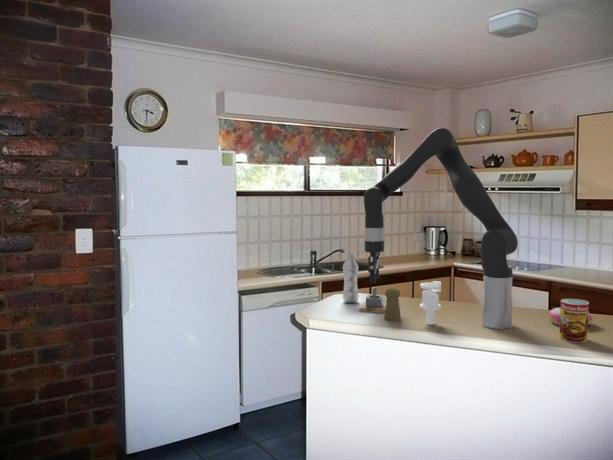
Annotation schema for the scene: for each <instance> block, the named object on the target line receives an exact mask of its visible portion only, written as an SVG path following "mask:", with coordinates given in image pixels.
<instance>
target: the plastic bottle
mask: <svg viewBox="0 0 613 460" xmlns="http://www.w3.org/2000/svg"><path fill="white" fill-rule="evenodd" d="M342 272H343V280H344V281H343V291H342V299H343V302H344V303H348V304H353V303H357V302H358V301H359V296H360V295H359V290H358V276H359V275H358V273H359V265H358V263H357V261H356V253H346V254H345V262H344V263H343V265H342Z"/></svg>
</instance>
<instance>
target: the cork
mask: <svg viewBox="0 0 613 460" xmlns="http://www.w3.org/2000/svg"><path fill="white" fill-rule="evenodd" d="M384 293H385V297H386V308H385V313H384V316H383V319H384V320H385V321H388V322H399V321H402V317H401V315H402V314H401V308H400V302H399V298H400V297H401V292H400V290H399V289H397V288H393V287H392V288H388V289H386V290H385V292H384Z"/></svg>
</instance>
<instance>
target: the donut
mask: <svg viewBox="0 0 613 460" xmlns="http://www.w3.org/2000/svg"><path fill="white" fill-rule="evenodd" d="M548 319H549V321H551V323H553V324H554V325H556V326H559V327H560V307H554V308H552V309H551V310H550V311H549V313H548ZM592 322H593V315H592V314H591V313H590V312H589V314H588V326H589V325H590V324H591V323H592Z"/></svg>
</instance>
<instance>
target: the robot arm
mask: <svg viewBox="0 0 613 460" xmlns="http://www.w3.org/2000/svg"><path fill="white" fill-rule="evenodd" d="M434 156H435V157H436V159H438V160H439V161H440V163H441V164H442V166H443V168H444V169H445V170H446V172H447V174H448V177H449V180H450V182H451V185H452V188H453V190H454V192H455V194H456V195H457V197H458V199H459V201H460V202H461V204H462V205H463V207H465V209H466V210H467V211H468V212H469V213H470V214H472V215H473V216H474V217H475V218H476V219H477V220H479V222H481V224H482V225H483V226H484V228H485V230H486V232H484V234H483V235H482V237H481V242H480V264H481V268H482V271H483V281H482V283H483V285H482V288H483V289H482V290H483V291H482V317H481V319H482V320H481V322H482V326H483V327H486V328H490V329H495V330H496V329H498V330H501V329H502V330H505V329H512V325H513V323H512V322H513V299H512V298H513V268H512V267H511V266H509V265H508V263H507V262H508V261H507V256H508V255H512V254H513V253H515V252H516V250H517V249H518V243H519V242H518V241H519V240H518V236H517V235H516V233H515V231H514V230H513V228H511V226H510V225H509V224H508V222H507V221H506V220H505V219H504V217H503V216H502V215H501V213H500V212H499V210H498V208H497V206H496V205H495V203H494V202H493V200H492V199H491V197H490V195H489V193H488V192H487V190H486V187H485V186H484V185H483V183H482V181H481V180H480V178H479V177H478V176H477V174H476V173H475V171H474V170H473V169H472V168H471V166H470V165H469V164H468V163H467V162H466V160H465V159H464V156H463V155H462V152H461V151H460V149H459V145H458V144H457V141H456V139H455V137H454V135H453V133H452V132H451V131H450V130H449V129H448V128H445V127H438V128H436V129H434V130H432V131H431V132H430V133H429V134H428V135H427V136H426V137H425V138H424V139H423V140H422V142H421V143H420V144H419V145H418V146H417V147H416V148H415V149H414V150H413V151H412V152H411V153H410V154H409V155H408V156H407V157H406V158H405V159H404V160H402V162H400V163H399V164H398V165H396V166H395V167H394V168H393V169H391V171H389V172H388V173H387V174H386V175H385V176H384V177H382V179H381V180H380V181H378V182H377V183H376V184H374V185H373V186H371V187H369V188H367V189H366V190H365V192H364V193H363V206H364V213H365V214H364V215H365V217H364V218H365V219H364V252H365V253H369V256H368V260H367V262H368V268H367V269H368V270H367V272H368V273H369V283H370V284H376V282H377V280H379V279H380V269H381V253H383V252H384V251H385V230H384V229H385V228H384V213H383V202H385V200H387V199H388V198H389V197H390V196H391V195H392V194H393V193H394V192H396V191H398V190H399V189H401V187H403V186H404V185H405V184H407V183H408V182H409V181H410V180H411V179H412V178H413V177H414V176H415V174H416V173H417V172H418V171H419V169H420V168H421V167H422V166H423V165H424V164H425V163H426V162H427V161H428V160H429V159H431V158H432V157H434Z"/></svg>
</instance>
